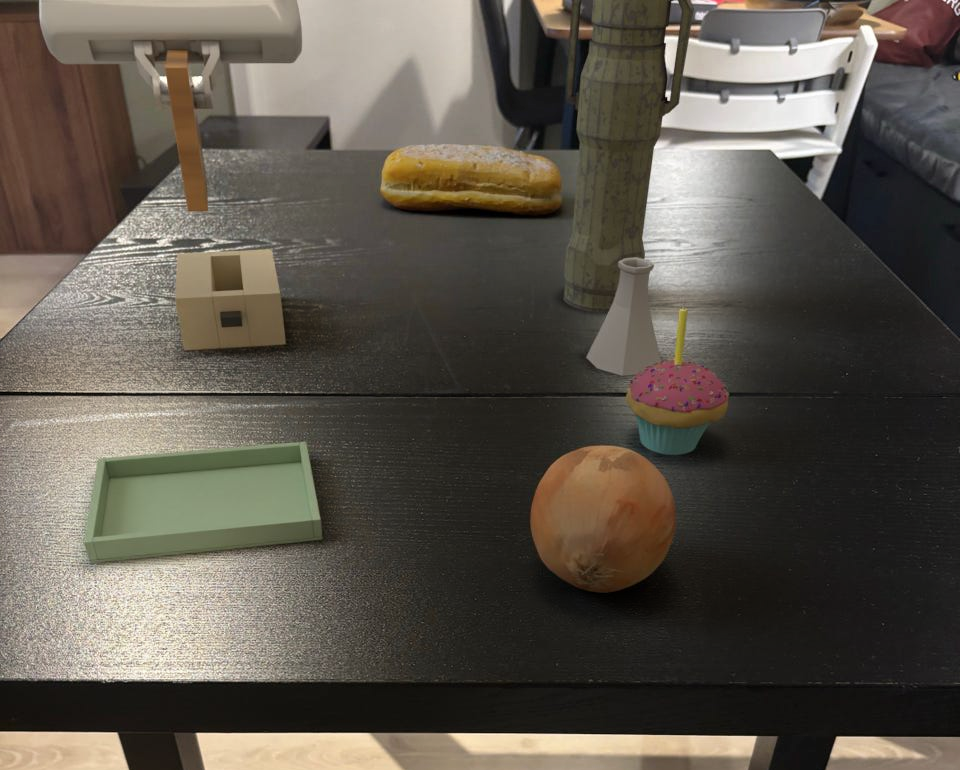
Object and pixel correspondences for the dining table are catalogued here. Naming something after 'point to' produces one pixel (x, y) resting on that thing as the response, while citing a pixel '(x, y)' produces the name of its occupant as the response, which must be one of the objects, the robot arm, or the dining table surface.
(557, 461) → the onion
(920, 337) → the dining table surface
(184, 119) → the toast
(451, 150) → the bread
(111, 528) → the tray
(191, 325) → the toaster
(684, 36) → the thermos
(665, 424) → the cupcake
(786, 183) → the dining table surface
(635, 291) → the flask
